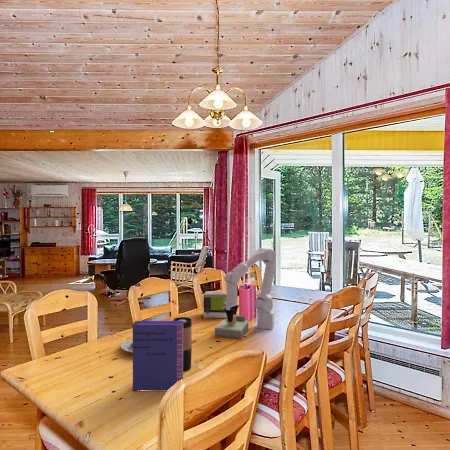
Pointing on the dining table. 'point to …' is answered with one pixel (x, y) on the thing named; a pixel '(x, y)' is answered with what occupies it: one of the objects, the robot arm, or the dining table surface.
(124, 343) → the food on plate
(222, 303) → the tea box
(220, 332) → the box
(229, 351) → the dining table surface
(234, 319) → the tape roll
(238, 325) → the lid
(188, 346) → the travel mug
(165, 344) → the purple book
